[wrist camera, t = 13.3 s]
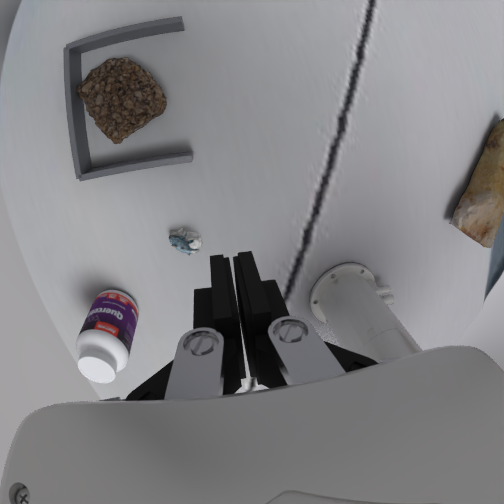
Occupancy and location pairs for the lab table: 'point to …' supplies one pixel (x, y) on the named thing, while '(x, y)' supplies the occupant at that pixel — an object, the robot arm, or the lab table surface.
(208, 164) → the lab table surface
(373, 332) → the robot arm
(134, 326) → the pill bottle
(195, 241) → the sculpture
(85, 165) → the tray
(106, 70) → the concrete sample
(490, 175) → the mineral
